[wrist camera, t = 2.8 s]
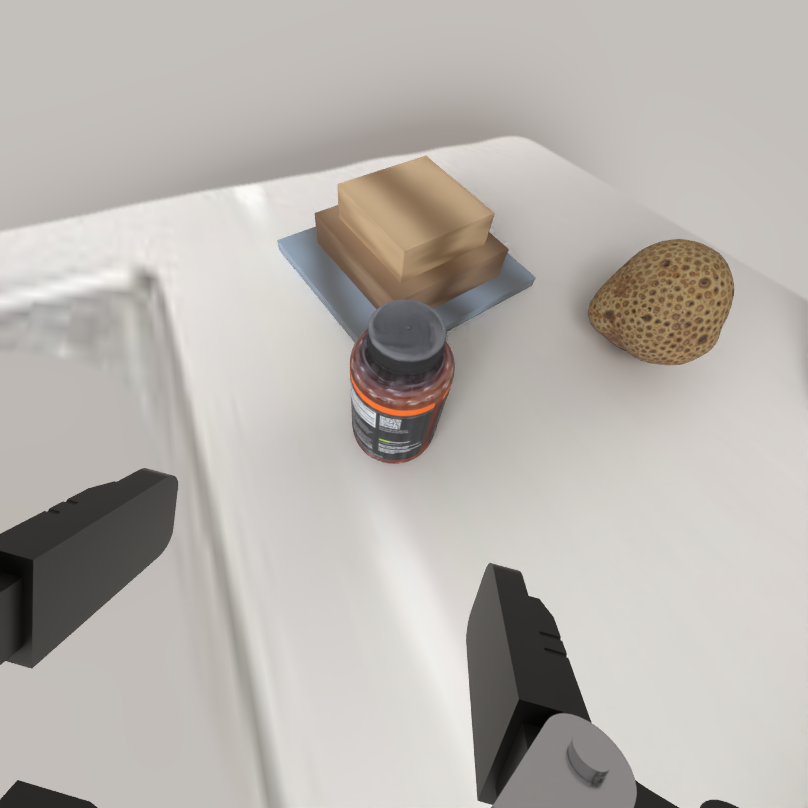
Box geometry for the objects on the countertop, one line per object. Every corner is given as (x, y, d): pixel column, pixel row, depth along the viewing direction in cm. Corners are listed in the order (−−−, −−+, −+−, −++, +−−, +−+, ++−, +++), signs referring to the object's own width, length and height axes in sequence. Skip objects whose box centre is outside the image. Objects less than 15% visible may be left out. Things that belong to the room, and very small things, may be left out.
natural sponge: (696, 377, 35) (806, 293, 27) (613, 402, 33) (703, 319, 24) (636, 301, 39) (714, 207, 31) (558, 319, 37) (618, 223, 28)
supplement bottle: (416, 386, 32) (442, 275, 22) (444, 453, 29) (488, 361, 20) (342, 404, 30) (335, 294, 21) (365, 477, 28) (369, 390, 18)
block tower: (429, 194, 45) (440, 124, 38) (531, 285, 39) (563, 220, 33) (279, 249, 38) (264, 175, 32) (376, 368, 32) (380, 307, 26)
